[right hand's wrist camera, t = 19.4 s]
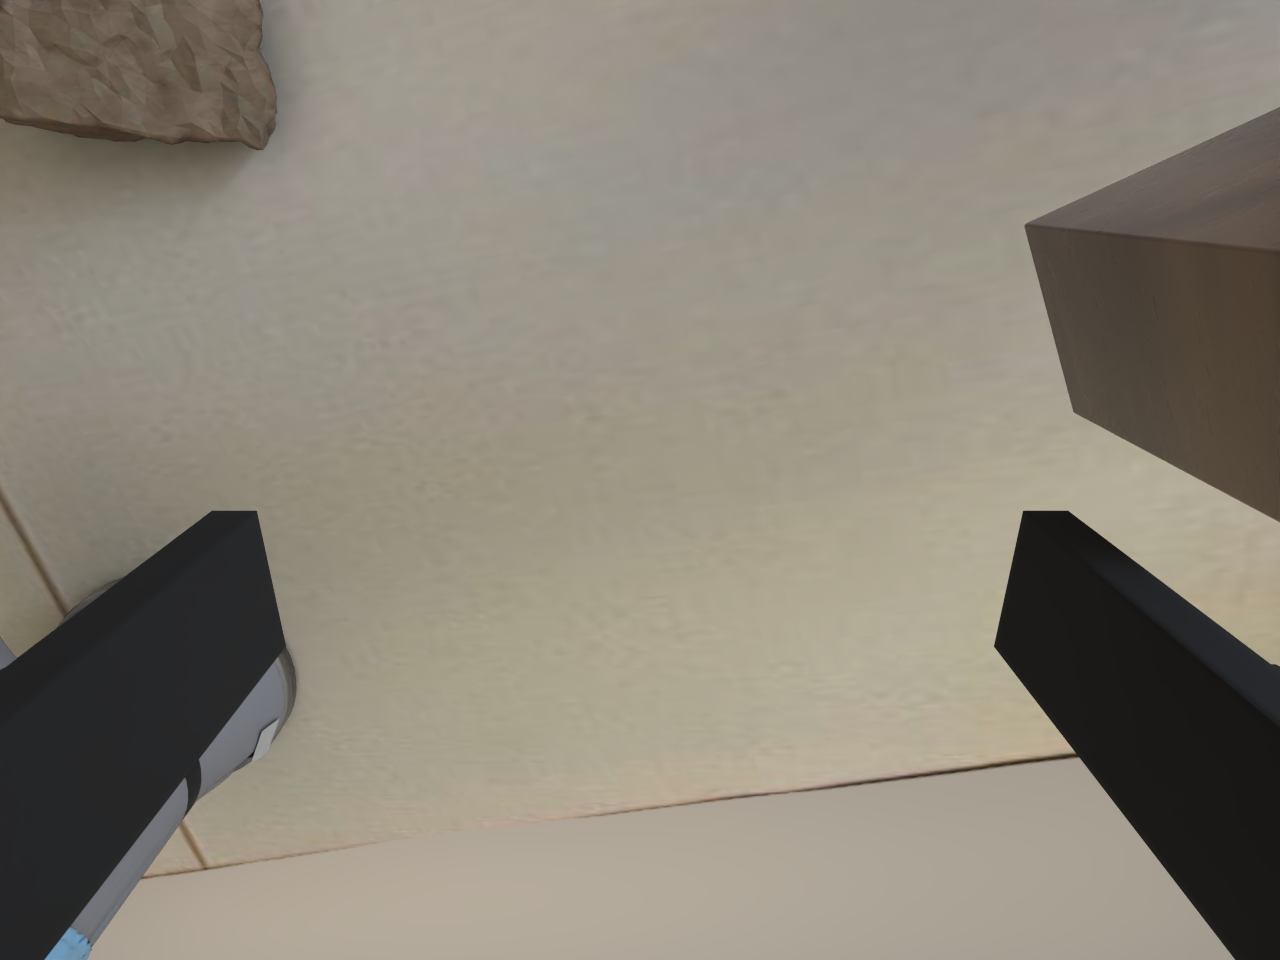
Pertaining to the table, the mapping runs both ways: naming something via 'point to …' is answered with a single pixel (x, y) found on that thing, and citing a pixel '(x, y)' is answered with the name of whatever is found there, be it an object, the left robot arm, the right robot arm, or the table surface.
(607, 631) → the table surface
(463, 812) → the table surface
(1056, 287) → the bar
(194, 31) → the stone
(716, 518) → the table surface
